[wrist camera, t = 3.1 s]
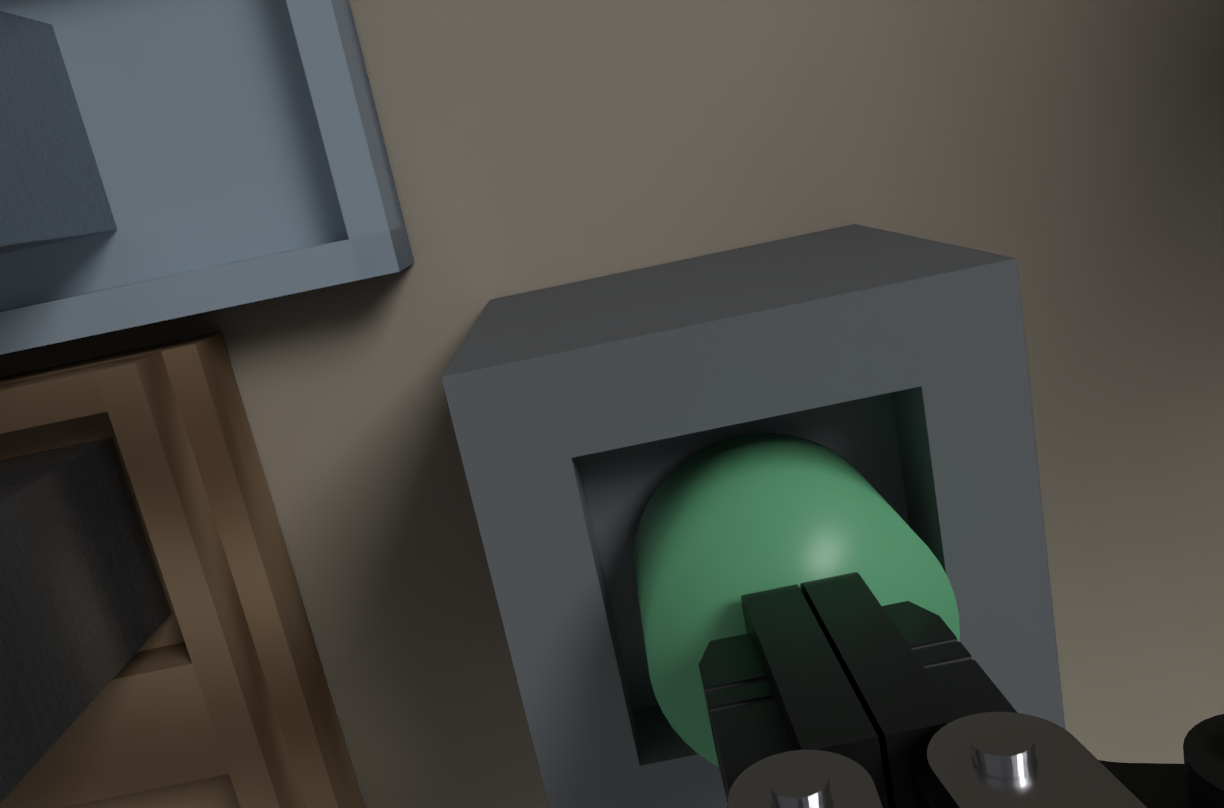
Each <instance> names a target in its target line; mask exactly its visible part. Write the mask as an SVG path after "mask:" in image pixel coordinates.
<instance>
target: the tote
mask: <svg viewBox="0 0 1224 808" xmlns="http://www.w3.org/2000/svg"><path fill="white" fill-rule="evenodd" d="M0 11H3V12H7V13H11V14H14V15H18V16H22V17H26V18H29V19H33V20H37V21H41V22H44V23H48V24H52V26H53V29H54V32H55V35H56V38H57V41H58V44H59V48H60V51H61V54H62V57H63V60H64V63H65V66H66V70H67V73H68V76H69V79H70V82H71V85H72V88H73V92H74V95H75V98H76V101H77V104H78V107H79V110H80V113H81V117H82V120H83V123H84V126H85V129H86V132H87V135H88V139H89V142H90V145H91V148H92V151H93V154H94V157H95V160H96V164H97V167H98V170H99V173H100V176H101V179H102V182H103V186H104V189H105V192H106V195H107V198H108V201H109V204H110V208H111V211H112V214H113V217H114V220H115V223H116V226H117V229H118V230H113V231H108V232H103V233H99V234H94V235H89V236H84V237H80V238H75V239H70V240H65V241H60V242H56V243H51V244H46V245H41V246H37V247H32V248H27V249H22V250H17V251H13V252H8V253H3V254H0V355H1V354H6V353H11V352H16V351H21V350H25V349H30V348H35V347H40V346H45V345H49V344H54V343H59V342H64V341H69V340H73V339H78V338H83V337H88V336H93V335H97V334H102V333H107V332H112V331H117V330H122V329H126V328H131V327H136V326H141V325H146V324H150V323H155V322H160V321H165V320H170V319H174V318H179V317H184V316H189V315H194V314H198V313H203V312H208V311H213V310H218V309H222V308H227V307H232V306H237V305H242V304H247V303H251V302H256V301H261V300H266V299H271V298H275V297H280V296H285V295H290V294H295V293H299V292H304V291H309V290H314V289H319V288H323V287H328V286H333V285H338V284H343V283H348V282H352V281H357V280H362V279H367V278H372V277H376V276H381V275H386V274H391V273H396V272H400V271H402V270H403V269H405V268H407V267H408V266H410V265H412V264H413V263H414V259H413V255H412V251H411V247H410V243H409V239H408V235H407V231H406V227H405V223H404V219H403V215H402V211H401V207H400V203H399V199H398V195H397V191H396V187H395V183H394V179H393V175H392V171H391V167H390V163H389V159H388V155H387V151H386V147H385V143H384V139H383V135H382V131H381V127H380V123H379V119H378V115H377V111H376V107H375V103H374V99H373V95H372V91H371V87H370V83H369V79H368V75H367V71H366V67H365V63H364V59H363V55H362V51H361V47H360V43H359V39H358V35H357V31H356V27H355V23H354V19H353V15H352V11H351V7H350V3H349V0H0Z"/></svg>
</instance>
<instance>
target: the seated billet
mask: <svg viewBox="0 0 1224 808" xmlns="http://www.w3.org/2000/svg"><path fill="white" fill-rule="evenodd" d="M171 614H172V613H171V610H170V607H169V604H168V601H167V598H166V595H165V592H164V589H163V586H162V583H161V580H160V578H159V575H158V572H157V569H156V566H155V563H154V560H153V557H152V554H151V551H150V548H149V545H148V542H147V539H146V536H145V533H144V530H143V527H142V524H141V521H140V518H139V515H138V512H137V509H136V506H135V503H134V500H133V497H132V494H131V491H130V489H129V486H128V483H127V480H126V477H125V474H124V471H123V468H122V465H121V462H120V459H119V456H118V453H117V450H116V447H115V444H114V441H113V438H112V437H109V438H104V439H99V440H95V441H90V442H85V443H80V444H75V445H70V446H66V447H61V448H56V449H51V450H46V451H41V452H36V453H32V454H27V455H22V456H17V457H12V458H7V459H3V460H0V803H1V802H2V801H3V800H4V799H5V798H6V797H7V795H8V794H9V793H10V792H11V791H12V790H13V789H14V788H15V787H16V786H17V784H18V783H19V782H20V781H21V780H22V779H23V778H24V777H25V776H26V774H27V773H28V772H29V771H30V770H31V769H32V768H33V767H34V766H35V764H36V763H37V762H38V761H39V760H40V759H41V758H42V757H43V756H44V754H45V753H46V752H47V751H48V750H49V749H50V748H51V747H52V746H53V744H54V743H55V742H56V741H57V740H58V739H59V738H60V737H61V736H62V734H63V733H64V732H65V731H66V730H67V729H68V728H69V727H70V726H71V725H72V723H73V722H74V721H75V720H76V719H77V718H78V717H79V716H80V715H81V713H82V712H83V711H84V710H85V709H86V708H87V707H88V706H89V705H90V703H91V702H92V701H93V700H94V699H95V698H96V697H97V696H98V695H99V693H100V692H101V691H102V690H103V689H104V688H105V687H106V686H107V685H108V683H109V682H110V681H111V680H112V679H113V678H114V677H115V676H116V675H117V674H118V672H119V671H120V670H121V669H122V668H123V667H124V666H125V665H126V664H127V662H128V661H129V660H130V659H131V658H132V657H133V656H134V655H135V654H136V652H137V651H138V650H139V649H140V648H141V647H142V646H143V645H144V644H145V642H146V641H147V640H148V639H149V638H150V637H151V636H152V635H153V634H154V632H155V631H156V630H157V629H158V628H159V627H160V626H161V625H162V624H163V623H164V621H165V620H166V619H167V618H168V617H169V616H170V615H171Z"/></svg>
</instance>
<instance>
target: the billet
mask: <svg viewBox="0 0 1224 808" xmlns="http://www.w3.org/2000/svg"><path fill="white" fill-rule="evenodd" d="M113 230H118V229H117V226H116V223H115V220H114V217H113V214H112V211H111V208H110V204H109V201H108V198H107V195H106V192H105V189H104V186H103V182H102V179H101V176H100V173H99V170H98V167H97V164H96V160H95V157H94V154H93V151H92V148H91V145H90V142H89V139H88V135H87V132H86V129H85V126H84V123H83V120H82V117H81V113H80V110H79V107H78V104H77V101H76V98H75V95H74V92H73V88H72V85H71V82H70V79H69V76H68V73H67V70H66V66H65V63H64V60H63V57H62V54H61V51H60V48H59V44H58V41H57V38H56V35H55V32H54V29H53V26H52V24H48V23H44V22H41V21H37V20H33V19H29V18H26V17H22V16H18V15H14V14H11V13H7V12H3V11H0V254H3V253H8V252H13V251H17V250H22V249H27V248H32V247H37V246H41V245H46V244H51V243H56V242H60V241H65V240H70V239H75V238H80V237H84V236H89V235H94V234H99V233H103V232H108V231H113Z"/></svg>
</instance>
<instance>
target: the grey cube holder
mask: <svg viewBox="0 0 1224 808" xmlns="http://www.w3.org/2000/svg"><path fill="white" fill-rule="evenodd" d="M441 378H442V382H443V386H444V390H445V394H446V398H447V402H448V406H449V410H450V414H451V418H452V422H453V426H454V430H455V434H456V438H457V442H458V446H459V450H460V454H461V458H462V462H463V466H464V470H465V474H466V478H467V482H468V486H469V490H470V494H471V498H472V502H473V506H474V510H475V514H476V518H477V522H478V526H479V530H480V534H481V538H482V542H483V546H484V550H485V554H486V558H487V562H488V566H489V570H490V574H491V578H492V582H493V586H494V590H495V594H496V598H497V602H498V606H499V610H500V614H501V618H502V622H503V626H504V630H505V634H506V638H507V642H508V646H509V650H510V654H511V658H512V662H513V666H514V670H515V674H516V678H517V682H518V686H519V690H520V694H521V698H522V702H523V706H524V710H525V714H526V718H527V722H528V726H529V730H530V734H531V738H532V742H533V746H534V750H535V754H536V758H537V762H538V766H539V770H540V774H541V778H542V782H543V786H544V790H545V794H546V798H547V802H548V806H549V808H727V807H728V803H727V799H726V795H725V791H724V786H723V782H722V778H721V774H720V769H719V767H718V766H716V765H714V764H712V763H711V762H709V761H708V760H706V759H705V758H703V757H702V756H700V755H699V754H698V753H697V752H695V751H694V750H693V749H692V748H691V747H690V746H689V745H688V744H686V743H685V742H684V741H683V739H682V738H681V737H680V736H679V735H678V734H677V732H676V731H675V730H674V729H673V728H672V726H671V725H670V723H669V722H668V720H667V718H666V717H665V715H664V714H663V712H662V710H661V708H660V705H659V703H658V701H657V699H656V697H655V694H654V690H653V687H652V684H651V680H650V675H649V668H648V661H647V654H646V647H645V641H644V634H643V627H642V620H641V613H640V606H639V599H638V592H637V585H636V578H635V570H634V547H635V539H636V534H637V530H638V527H639V523H640V520H641V517H642V515H643V513H644V510H645V508H646V506H647V504H648V502H649V500H650V499H651V497H652V495H653V494H654V492H655V491H656V489H657V488H658V487H659V485H660V484H661V483H662V482H663V480H664V479H665V478H666V477H667V476H668V475H669V474H670V473H671V472H672V471H673V470H674V469H675V468H676V467H677V466H678V465H680V464H681V463H682V462H684V461H685V460H686V459H688V458H689V457H690V456H692V455H693V454H695V453H697V452H699V451H700V450H702V449H704V448H706V447H708V446H710V445H712V444H715V443H717V442H720V441H722V440H725V439H729V438H733V437H736V436H740V435H748V434H755V433H779V434H787V435H793V436H797V437H801V438H805V439H808V440H811V441H814V442H816V443H819V444H821V445H823V446H825V447H827V448H829V449H830V450H832V451H834V452H836V453H837V454H839V455H840V456H841V457H843V458H844V459H845V460H847V461H848V462H849V463H850V464H851V465H852V466H853V467H854V468H855V469H856V470H857V471H858V472H859V473H860V474H861V475H862V476H863V477H864V478H865V479H866V480H867V481H868V482H869V483H870V484H871V485H872V487H873V488H874V489H875V490H876V491H877V492H878V493H879V494H880V495H881V496H882V497H883V499H884V500H885V501H886V502H887V503H888V504H889V505H890V506H891V507H892V508H893V509H894V510H895V512H896V513H897V514H898V515H899V516H900V517H901V518H902V519H903V520H904V521H905V522H906V524H907V525H908V526H909V527H910V528H911V529H912V530H913V531H914V532H915V533H916V534H917V535H918V537H919V538H920V539H921V540H922V541H923V542H924V543H925V544H926V545H927V546H928V547H929V549H930V550H931V551H932V553H933V554H934V556H935V557H936V558H937V560H938V561H939V562H940V564H941V566H942V568H943V570H944V571H945V573H946V575H947V577H948V579H949V581H950V584H951V587H952V590H953V592H954V595H955V598H956V603H957V608H958V613H959V625H960V640H959V642H961V643H962V644H963V646H964V647H965V648H966V649H967V651H968V652H969V653H970V654H971V657H972V660H976V662H977V663H978V664H979V665H980V667H981V668H982V669H983V670H984V672H985V673H986V674H987V675H988V677H989V678H990V679H991V680H992V682H993V683H994V684H995V685H996V687H997V688H998V689H999V690H1000V691H1001V693H1002V694H1003V695H1004V696H1005V698H1006V699H1007V700H1008V701H1009V703H1010V704H1011V705H1012V706H1013V708H1014V709H1015V710H1016V711H1017V713H1022V714H1027V715H1033V716H1036V717H1039V718H1043V719H1045V720H1048V721H1050V722H1052V723H1055V724H1057V725H1058V726H1060V727H1062V728H1064V729H1065V722H1064V712H1063V703H1062V693H1061V683H1060V674H1059V664H1058V654H1057V645H1056V635H1055V625H1054V616H1053V606H1052V597H1051V587H1050V577H1049V568H1048V558H1047V548H1046V539H1045V529H1044V519H1043V510H1042V500H1041V490H1040V481H1039V471H1038V462H1037V452H1036V442H1035V433H1034V423H1033V413H1032V404H1031V394H1030V384H1029V375H1028V365H1027V356H1026V346H1025V336H1024V327H1023V317H1022V307H1021V298H1020V288H1019V278H1018V269H1017V259H1016V258H1012V257H1007V256H1002V255H998V254H993V253H988V252H984V251H979V250H974V249H970V248H965V247H960V246H955V245H951V244H946V243H941V242H937V241H932V240H927V239H923V238H918V237H913V236H909V235H904V234H899V233H894V232H890V231H885V230H880V229H876V228H871V227H866V226H862V225H857V224H854V225H849V226H844V227H840V228H835V229H830V230H825V231H820V232H815V233H811V234H806V235H801V236H796V237H791V238H787V239H782V240H777V241H772V242H767V243H762V244H758V245H753V246H748V247H743V248H738V249H733V250H729V251H724V252H719V253H714V254H709V255H705V256H700V257H695V258H690V259H685V260H680V261H676V262H671V263H666V264H661V265H656V266H651V267H647V268H642V269H637V270H632V271H627V272H622V273H618V274H613V275H608V276H603V277H598V278H594V279H589V280H584V281H579V282H574V283H569V284H565V285H560V286H555V287H550V288H545V289H540V290H536V291H531V292H526V293H521V294H516V295H512V296H507V297H502V298H497V299H492V300H490V301H489V303H488V304H487V306H486V308H485V309H484V311H483V312H482V314H481V315H480V317H479V319H478V320H477V322H476V323H475V325H474V326H473V328H472V330H471V331H470V333H469V334H468V336H467V337H466V339H465V341H464V342H463V344H462V345H461V347H460V348H459V350H458V352H457V353H456V355H455V356H454V358H453V359H452V361H451V363H450V364H449V366H448V367H447V369H446V370H445V372H444V374H443V375H442V377H441Z"/></svg>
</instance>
